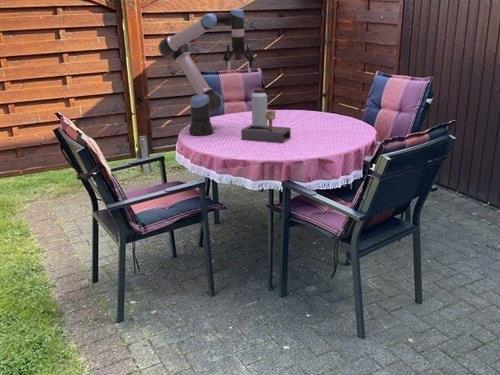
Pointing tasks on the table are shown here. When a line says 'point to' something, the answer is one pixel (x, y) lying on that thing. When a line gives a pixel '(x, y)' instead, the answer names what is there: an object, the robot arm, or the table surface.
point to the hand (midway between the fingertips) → (239, 72)
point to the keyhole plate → (265, 133)
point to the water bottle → (259, 107)
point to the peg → (270, 117)
